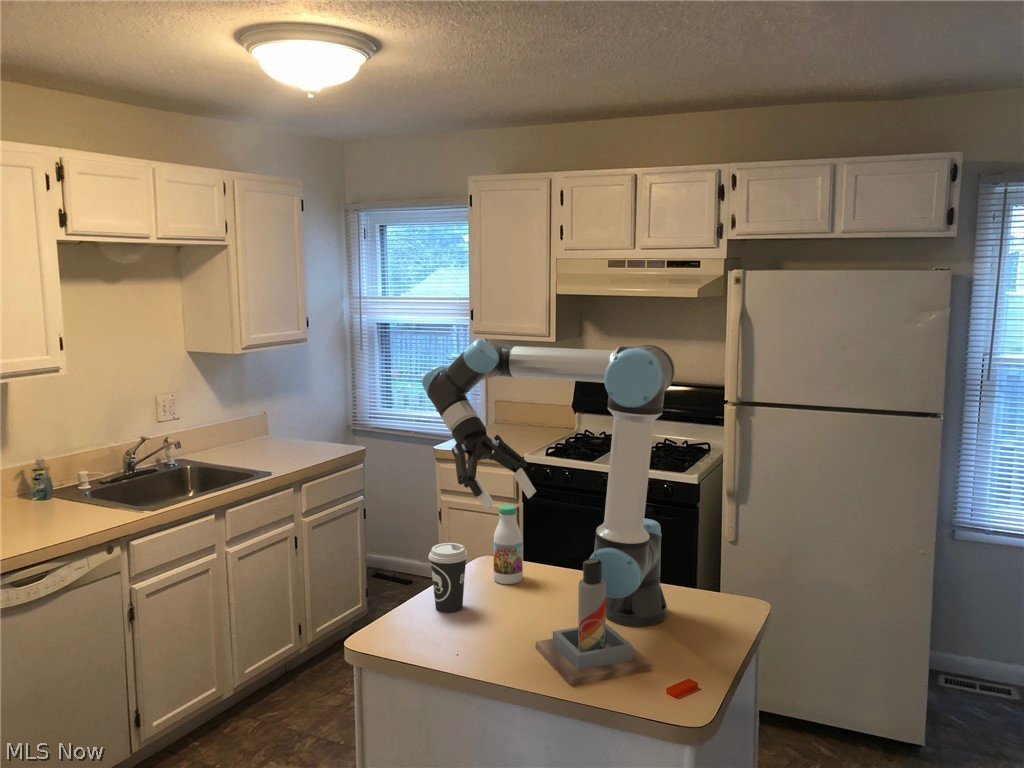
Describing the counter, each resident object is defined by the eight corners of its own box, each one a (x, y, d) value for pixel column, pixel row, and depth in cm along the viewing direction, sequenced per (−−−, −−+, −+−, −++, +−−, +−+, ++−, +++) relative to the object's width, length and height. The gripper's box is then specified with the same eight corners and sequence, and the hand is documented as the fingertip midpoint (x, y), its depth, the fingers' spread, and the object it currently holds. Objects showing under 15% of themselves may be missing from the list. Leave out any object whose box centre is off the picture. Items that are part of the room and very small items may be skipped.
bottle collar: (604, 635, 176) (604, 622, 175) (632, 659, 164) (632, 645, 164) (552, 644, 171) (552, 631, 171) (578, 670, 160) (578, 656, 159)
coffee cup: (463, 617, 189) (462, 556, 188) (424, 614, 191) (423, 553, 190) (473, 601, 199) (472, 543, 197) (436, 598, 201) (434, 540, 199)
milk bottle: (492, 575, 217) (492, 503, 214) (521, 574, 217) (520, 502, 215) (494, 585, 209) (493, 511, 207) (524, 584, 210) (523, 510, 207)
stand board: (609, 634, 180) (609, 628, 179) (651, 670, 163) (651, 663, 163) (535, 648, 173) (535, 641, 173) (571, 686, 156) (571, 679, 156)
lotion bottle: (597, 660, 164) (598, 566, 161) (573, 654, 167) (573, 561, 165) (610, 650, 169) (610, 558, 166) (586, 643, 172) (586, 553, 169)
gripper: (494, 427, 197) (539, 499, 188) (415, 442, 179) (462, 521, 170) (510, 409, 192) (557, 481, 184) (431, 421, 174) (479, 502, 166)
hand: (511, 500), depth 177 cm, fingers open, 13 cm apart
